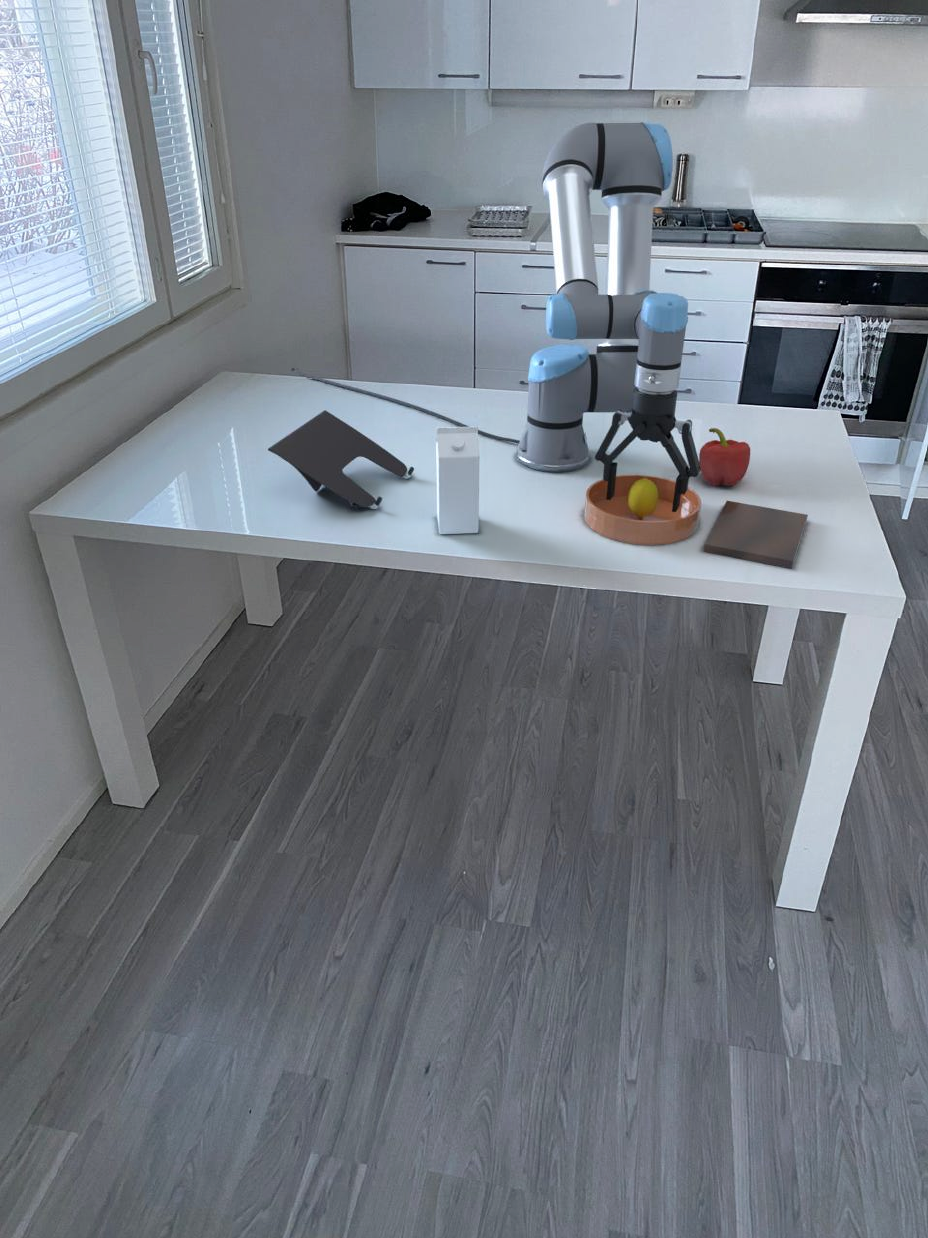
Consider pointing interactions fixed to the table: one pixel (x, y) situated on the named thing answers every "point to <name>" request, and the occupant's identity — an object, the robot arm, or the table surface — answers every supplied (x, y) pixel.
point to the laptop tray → (335, 456)
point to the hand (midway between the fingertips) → (642, 503)
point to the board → (757, 534)
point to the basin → (651, 529)
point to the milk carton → (457, 480)
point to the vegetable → (724, 460)
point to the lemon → (643, 497)
